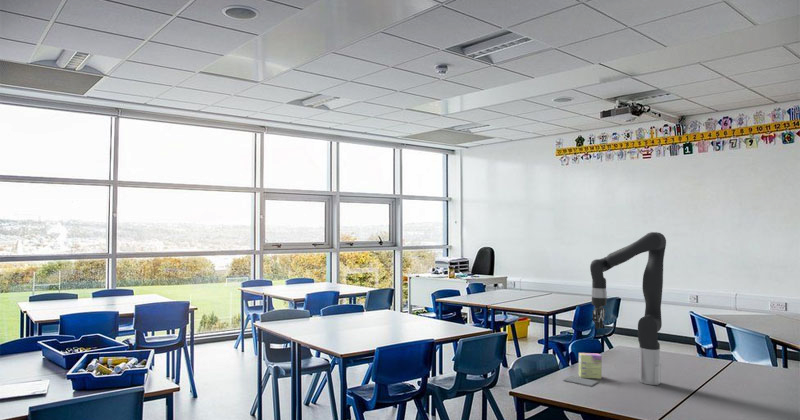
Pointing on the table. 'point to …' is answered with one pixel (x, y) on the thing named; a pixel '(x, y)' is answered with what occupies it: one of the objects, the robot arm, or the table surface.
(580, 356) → the box
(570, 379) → the mat
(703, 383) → the table surface
